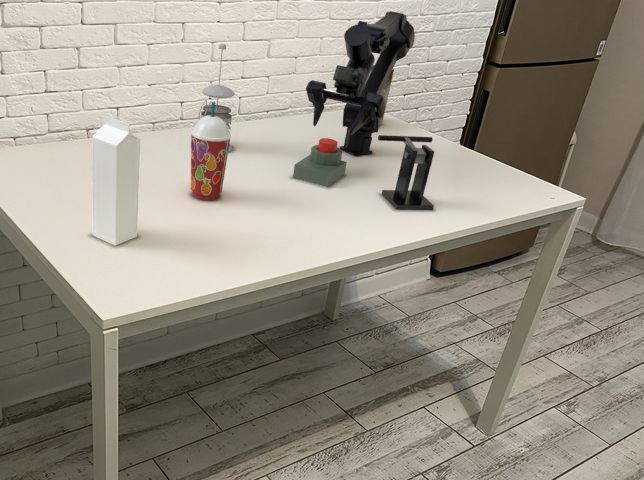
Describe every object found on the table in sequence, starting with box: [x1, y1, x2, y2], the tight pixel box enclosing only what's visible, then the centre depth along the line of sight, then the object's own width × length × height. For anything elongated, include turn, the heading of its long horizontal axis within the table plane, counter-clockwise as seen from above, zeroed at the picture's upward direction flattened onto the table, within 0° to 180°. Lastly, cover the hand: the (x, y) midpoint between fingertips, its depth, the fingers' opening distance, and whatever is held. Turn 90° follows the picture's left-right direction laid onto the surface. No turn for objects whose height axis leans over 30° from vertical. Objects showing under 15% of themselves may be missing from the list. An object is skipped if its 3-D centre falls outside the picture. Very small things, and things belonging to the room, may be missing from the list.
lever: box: [377, 134, 433, 165], centre depth 165 cm, size 10×13×2 cm
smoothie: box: [190, 101, 232, 201], centre depth 155 cm, size 8×8×20 cm
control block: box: [292, 144, 347, 188], centre depth 176 cm, size 12×9×6 cm
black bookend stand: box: [381, 144, 435, 211], centre depth 165 cm, size 9×9×13 cm
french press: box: [198, 43, 236, 153], centre depth 181 cm, size 10×12×25 cm
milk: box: [91, 115, 141, 246], centre depth 133 cm, size 6×6×22 cm
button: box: [317, 137, 339, 154], centre depth 176 cm, size 4×4×2 cm
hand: (332, 129), depth 173 cm, fingers open, 9 cm apart
